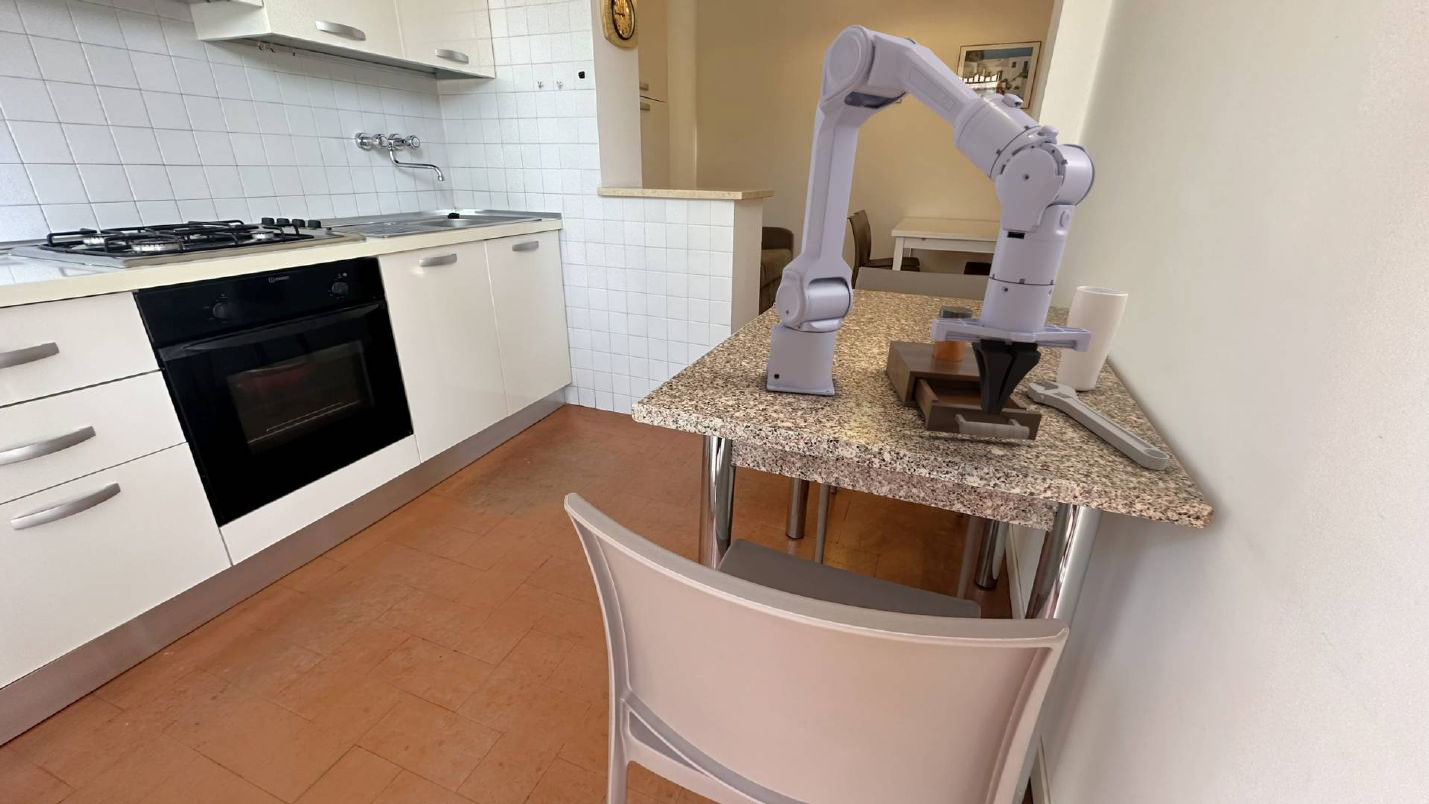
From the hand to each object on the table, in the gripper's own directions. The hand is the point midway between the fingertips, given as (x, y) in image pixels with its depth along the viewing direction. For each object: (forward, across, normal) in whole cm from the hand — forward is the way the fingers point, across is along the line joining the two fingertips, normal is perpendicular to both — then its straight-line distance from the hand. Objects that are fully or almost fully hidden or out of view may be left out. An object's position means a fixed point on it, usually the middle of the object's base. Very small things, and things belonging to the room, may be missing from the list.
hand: (990, 411), depth 60 cm
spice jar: (+1, +2, +24) cm, 25 cm away
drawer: (+5, +2, +11) cm, 13 cm away
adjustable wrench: (+6, +18, +16) cm, 25 cm away
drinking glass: (+6, +24, +32) cm, 40 cm away
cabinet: (+6, +2, +24) cm, 25 cm away
